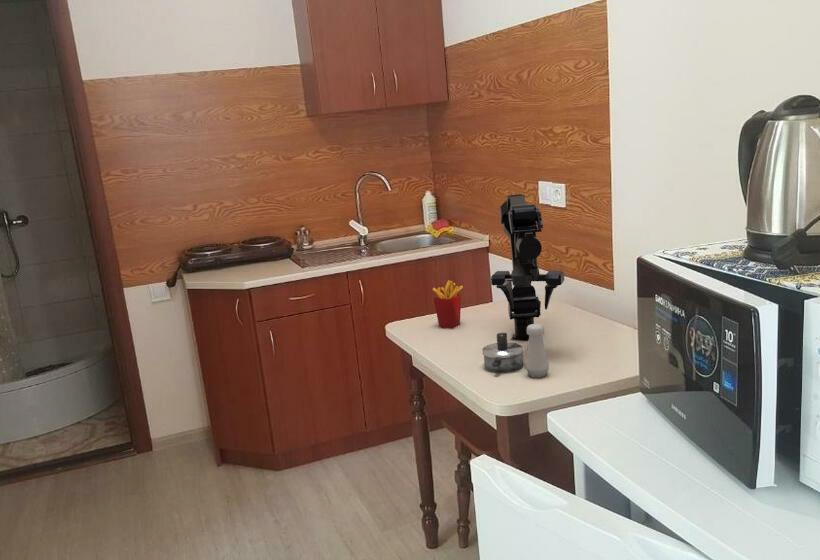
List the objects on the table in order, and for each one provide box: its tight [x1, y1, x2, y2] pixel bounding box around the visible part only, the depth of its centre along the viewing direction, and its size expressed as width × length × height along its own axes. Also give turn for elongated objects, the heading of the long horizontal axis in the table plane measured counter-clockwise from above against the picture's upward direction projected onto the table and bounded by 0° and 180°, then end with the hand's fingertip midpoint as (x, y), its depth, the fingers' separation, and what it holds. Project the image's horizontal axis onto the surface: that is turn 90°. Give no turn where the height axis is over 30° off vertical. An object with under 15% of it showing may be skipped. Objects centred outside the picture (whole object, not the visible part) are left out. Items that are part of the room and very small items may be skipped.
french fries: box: [431, 279, 464, 329], centre depth 227 cm, size 9×8×15 cm
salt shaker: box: [525, 323, 550, 378], centre depth 179 cm, size 6×6×13 cm
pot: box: [483, 353, 524, 374], centre depth 188 cm, size 15×10×4 cm, turn 158°
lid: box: [482, 332, 524, 359], centre depth 187 cm, size 11×11×5 cm
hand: (529, 309), depth 194 cm, fingers open, 9 cm apart
